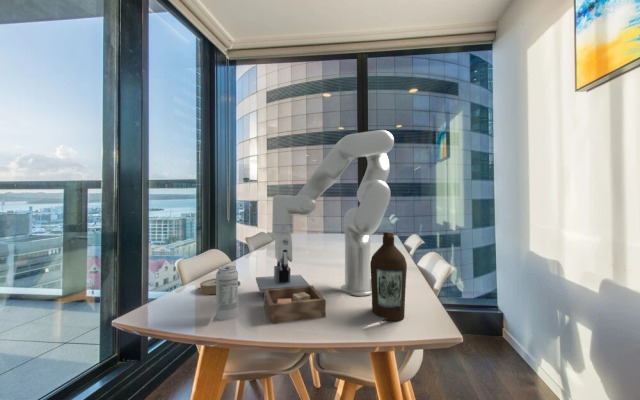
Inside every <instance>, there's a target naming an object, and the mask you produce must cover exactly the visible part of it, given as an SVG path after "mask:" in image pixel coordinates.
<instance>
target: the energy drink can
mask: <svg viewBox="0 0 640 400" xmlns="http://www.w3.org/2000/svg"><path fill="white" fill-rule="evenodd" d="M215 278H216V294H215V295H216V296H215V318H216V320H219V321H231V320H234V319H236V318H237V317H238V316H239V286H238V281H239V271H238V270H237V267H236V265H222V266H219V267H218V270H217V272H216V274H215Z"/></svg>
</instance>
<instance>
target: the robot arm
mask: <svg viewBox="0 0 640 400" xmlns="http://www.w3.org/2000/svg"><path fill="white" fill-rule="evenodd" d="M394 145H395V138H394V136H393V134H392V133H391V132H390V131H387V130H385V129H379V130H371V131H363V132H357V133H351V134H347V135H345V136H344V137H342V138H341V139H340V140H339V141H337V142H336V144H335V145H334V146H333V147H332V149H331V150H330V151H329V153H328V154H327V155H326V157H325V158H324V159H323V161H322V162H321V163H320V164H319V165H318V167H316V170H315V171H314V172H313V174H312V175H311V176H310V178H309V179H307V181H306V182H305V184H304V185H303V187H302V188H301V189H300V190H299V191H298V193H297V194H296V195H290V194H276V195H274V196H273V197H272V223H271V224H272V226H271V227H272V229H271V230H272V231H271V233H272V234H273V235H275V236H274V257H275V259H276V266H280V271H279V282H288V274H289V270H288V266H289V262H290V263H292V262H293V237H292V234H294V215H297V216H303V217H306V216H310V215H312V214H313V213H314V212H315V210H316V207H317V204H316V202H317V200H318V199H319V198H320V197H321V196H322V194H323V193H324V192H326V190H328V189H329V188H330V187H332V186H333V185H334V184H335V183H336V182H337V181H338V180H339V179H340V177H341V176H342V174H343V173H344V172H345V170H346V169H347V168H348V167H349V165H350V164H351V162H352V161H353V160H354V159H356V158H364V157H365V158H366V160H367V167H366V169H365V172H364V176H363V178H362V180H361V182H360V184H359V187H358V189H357V191H356V198H357V201H358V202H359V205H358V206H355V207H352V208H349V209H348V210H347V211H346V212H345V215H344V218H343V230H344V243H345V244H344V284H342V285H341V286H340V291H341V292H342V293H344V294H346V295H349V296H356V297H359V296H360V297H363V296H364V297H365V296H369V295H372V288H371V268H370V263H371V236H370V235H373V234H374V233H375V232H376V231H377V230H378V228H379V227H380V225H381V223H382V220H383V218H384V216H385V213H386V210H387V208H388V206H389V203H390V200H391V196H392V195H391V188H390V186H389V185H388V183H387V181H388V180H387V179H388V176H389V175H390V174H389V173H390V170H391V167H390V166H391V165H390V160H389V157H388V155H387V153H389V152H390V151H391V150H392V149H393V148H394Z"/></svg>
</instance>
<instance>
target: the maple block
mask: <svg viewBox="0 0 640 400" xmlns="http://www.w3.org/2000/svg"><path fill="white" fill-rule="evenodd" d="M303 300H310V295H308V294H307V293H305V292H301V293H296V294H293V301H303Z"/></svg>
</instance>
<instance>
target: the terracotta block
mask: <svg viewBox="0 0 640 400" xmlns="http://www.w3.org/2000/svg"><path fill="white" fill-rule="evenodd" d="M283 302H291V299H278V303H283Z"/></svg>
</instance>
